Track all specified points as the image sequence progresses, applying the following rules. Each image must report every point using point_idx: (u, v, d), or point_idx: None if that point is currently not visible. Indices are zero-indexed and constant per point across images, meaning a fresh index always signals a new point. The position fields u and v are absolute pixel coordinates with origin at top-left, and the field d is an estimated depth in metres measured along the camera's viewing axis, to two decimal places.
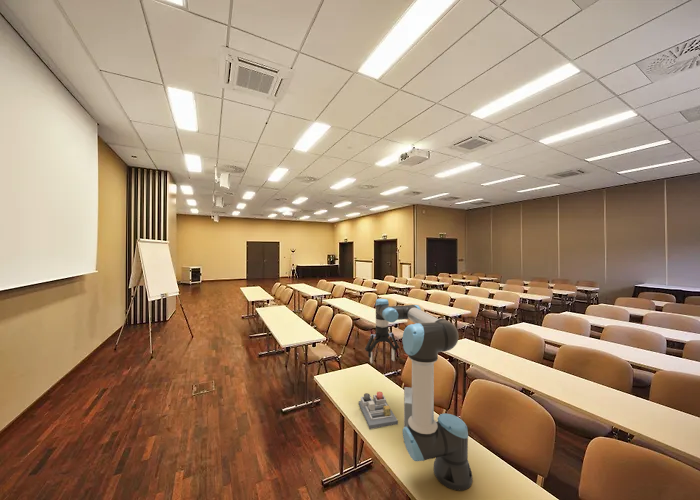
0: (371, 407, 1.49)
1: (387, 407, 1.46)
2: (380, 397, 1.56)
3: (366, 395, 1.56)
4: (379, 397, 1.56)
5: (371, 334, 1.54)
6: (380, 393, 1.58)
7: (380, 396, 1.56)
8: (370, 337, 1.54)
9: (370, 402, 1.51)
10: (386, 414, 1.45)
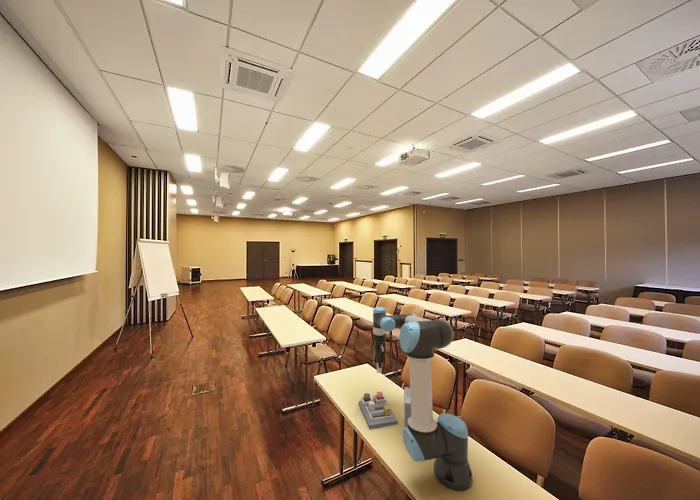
0: (371, 407, 1.49)
1: (387, 407, 1.46)
2: (380, 397, 1.56)
3: (366, 395, 1.56)
4: (379, 397, 1.56)
5: (376, 341, 1.64)
6: (380, 393, 1.58)
7: (380, 396, 1.56)
8: None
9: (370, 402, 1.51)
10: (386, 414, 1.45)
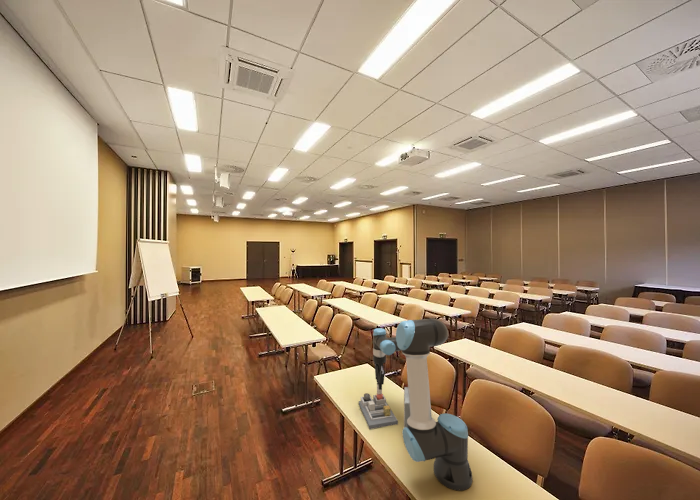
0: (371, 407, 1.49)
1: (387, 407, 1.46)
2: (380, 398, 1.56)
3: (366, 395, 1.56)
4: (379, 398, 1.56)
5: None
6: (380, 394, 1.58)
7: (380, 397, 1.56)
8: None
9: (370, 402, 1.51)
10: (386, 414, 1.45)
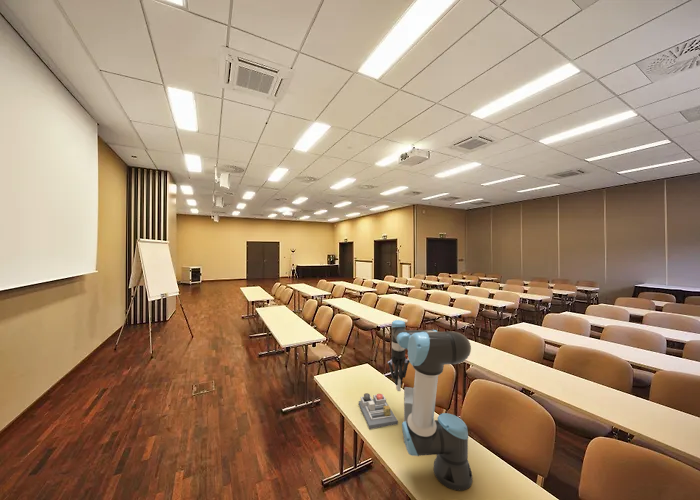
0: (371, 407, 1.49)
1: (387, 407, 1.46)
2: None
3: (366, 395, 1.56)
4: (379, 399, 1.56)
5: (387, 362, 1.46)
6: (380, 395, 1.58)
7: (380, 398, 1.56)
8: None
9: (370, 402, 1.51)
10: (386, 414, 1.45)
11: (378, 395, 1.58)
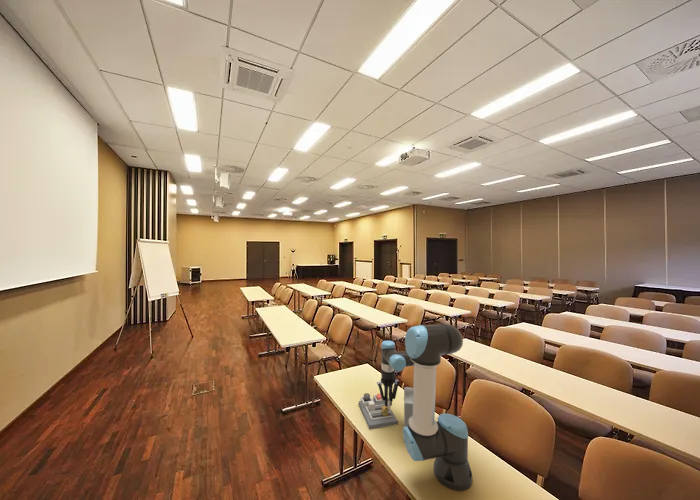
0: (371, 407, 1.49)
1: (385, 407, 1.46)
2: None
3: (366, 395, 1.56)
4: (379, 399, 1.56)
5: (377, 383, 1.45)
6: (380, 395, 1.58)
7: (380, 398, 1.56)
8: None
9: (370, 402, 1.51)
10: (383, 415, 1.45)
11: (378, 395, 1.58)
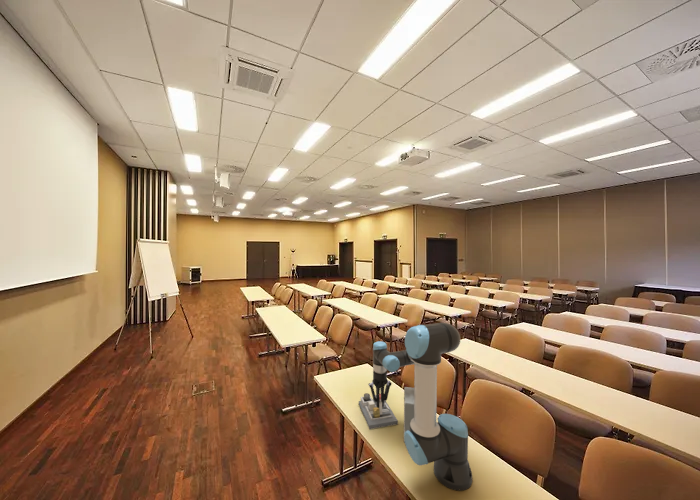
0: (371, 407, 1.49)
1: (376, 409, 1.45)
2: None
3: (366, 395, 1.56)
4: None
5: (369, 384, 1.44)
6: (380, 395, 1.58)
7: (380, 398, 1.56)
8: (370, 387, 1.45)
9: (370, 402, 1.51)
10: (375, 416, 1.43)
11: None
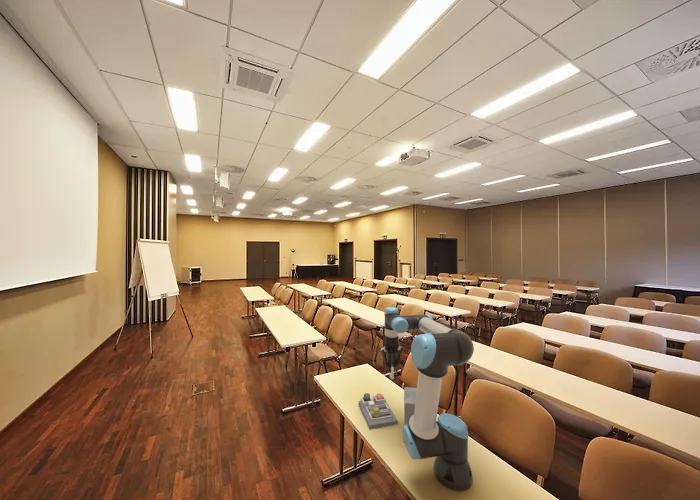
0: (371, 407, 1.49)
1: (376, 409, 1.45)
2: None
3: (366, 395, 1.56)
4: (379, 399, 1.56)
5: (380, 349, 1.45)
6: (380, 395, 1.58)
7: (380, 398, 1.56)
8: (382, 352, 1.46)
9: (370, 402, 1.51)
10: (375, 416, 1.43)
11: (378, 395, 1.58)
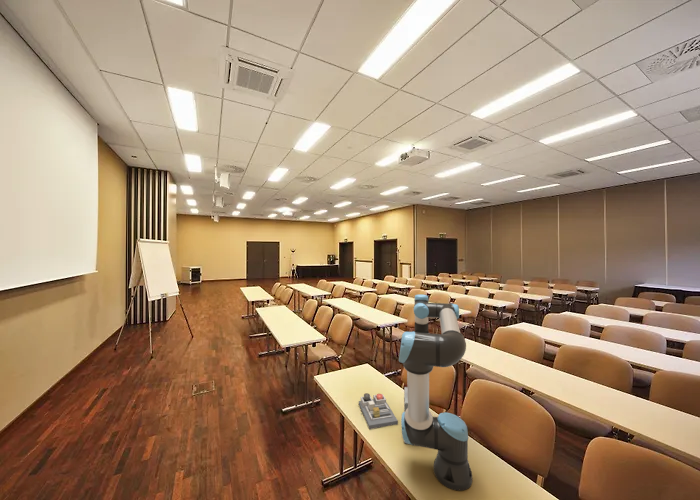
0: (371, 407, 1.49)
1: (376, 409, 1.45)
2: None
3: (366, 395, 1.56)
4: (379, 399, 1.56)
5: None
6: (380, 395, 1.58)
7: (380, 398, 1.56)
8: None
9: (370, 402, 1.51)
10: (375, 416, 1.43)
11: (378, 395, 1.58)
